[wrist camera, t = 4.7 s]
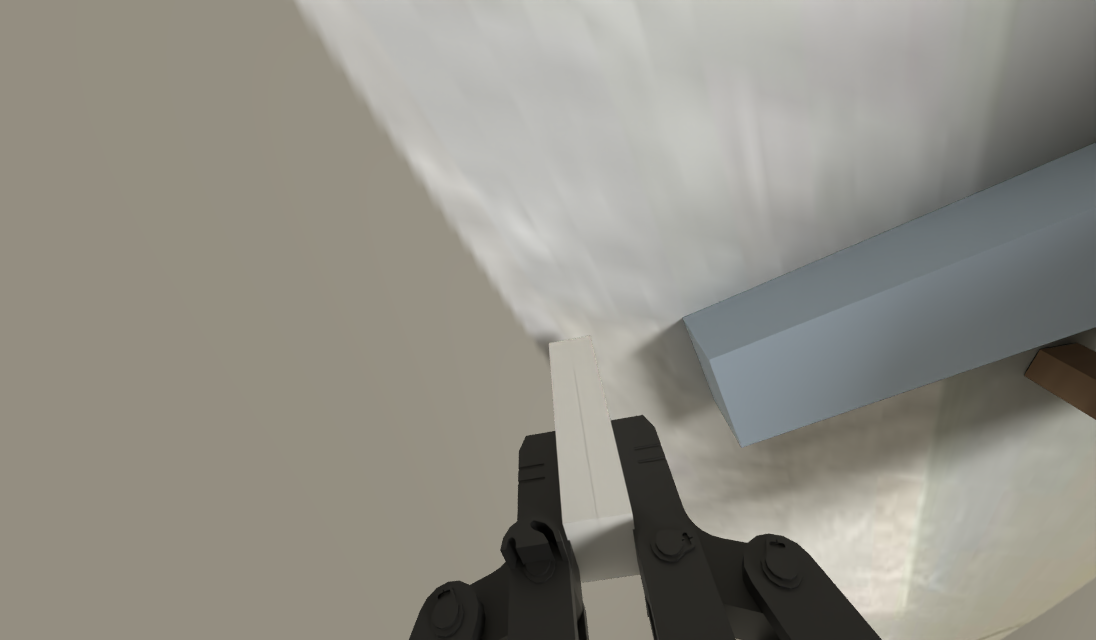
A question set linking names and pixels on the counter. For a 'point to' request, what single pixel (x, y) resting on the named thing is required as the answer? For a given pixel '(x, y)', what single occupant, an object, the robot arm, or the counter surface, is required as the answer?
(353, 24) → the counter surface
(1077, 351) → the cabinet
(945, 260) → the batten
